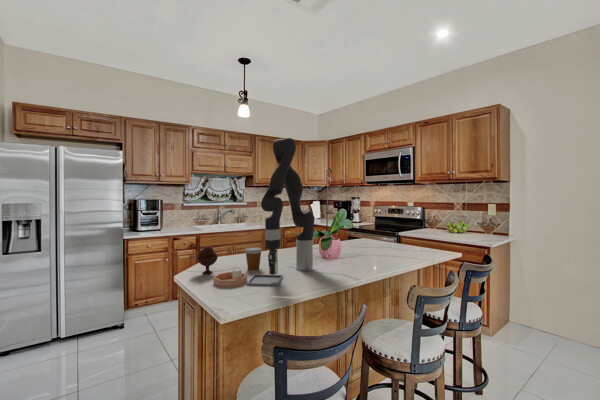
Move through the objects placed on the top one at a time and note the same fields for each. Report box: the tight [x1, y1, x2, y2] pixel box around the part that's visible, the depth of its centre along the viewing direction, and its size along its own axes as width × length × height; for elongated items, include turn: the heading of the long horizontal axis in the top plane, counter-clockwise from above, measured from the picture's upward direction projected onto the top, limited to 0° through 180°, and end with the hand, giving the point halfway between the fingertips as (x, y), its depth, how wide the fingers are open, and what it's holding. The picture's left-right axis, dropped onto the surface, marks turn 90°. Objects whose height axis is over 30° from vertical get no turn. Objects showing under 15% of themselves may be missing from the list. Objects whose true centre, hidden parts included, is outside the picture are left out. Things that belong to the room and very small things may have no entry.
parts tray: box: [245, 273, 284, 287], centre depth 146 cm, size 15×15×2 cm
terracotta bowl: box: [213, 271, 248, 288], centre depth 144 cm, size 15×15×4 cm
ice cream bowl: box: [196, 245, 219, 276], centre depth 161 cm, size 11×11×15 cm
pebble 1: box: [231, 269, 243, 280], centre depth 144 cm, size 4×4×6 cm
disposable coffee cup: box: [244, 246, 263, 271], centre depth 169 cm, size 10×10×12 cm
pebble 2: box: [268, 261, 279, 275], centre depth 146 cm, size 4×4×6 cm
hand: (273, 272), depth 146 cm, fingers closed on pebble 2, 4 cm apart
